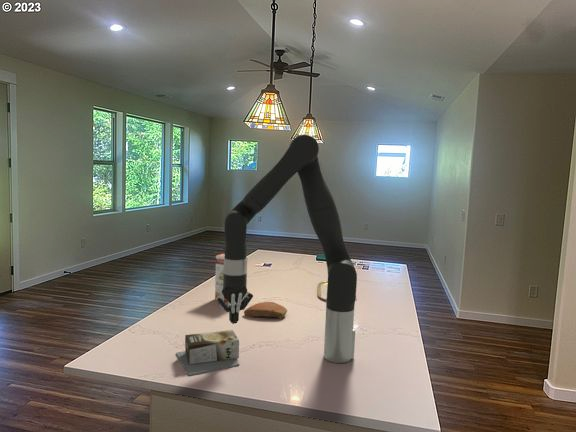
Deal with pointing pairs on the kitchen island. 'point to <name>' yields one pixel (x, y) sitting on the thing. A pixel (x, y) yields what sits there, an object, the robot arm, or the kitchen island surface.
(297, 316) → the kitchen island surface
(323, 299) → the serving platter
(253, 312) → the ceramic shard
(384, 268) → the kitchen island surface
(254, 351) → the kitchen island surface
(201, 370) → the mat
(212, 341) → the coffee box
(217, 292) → the cracker box
